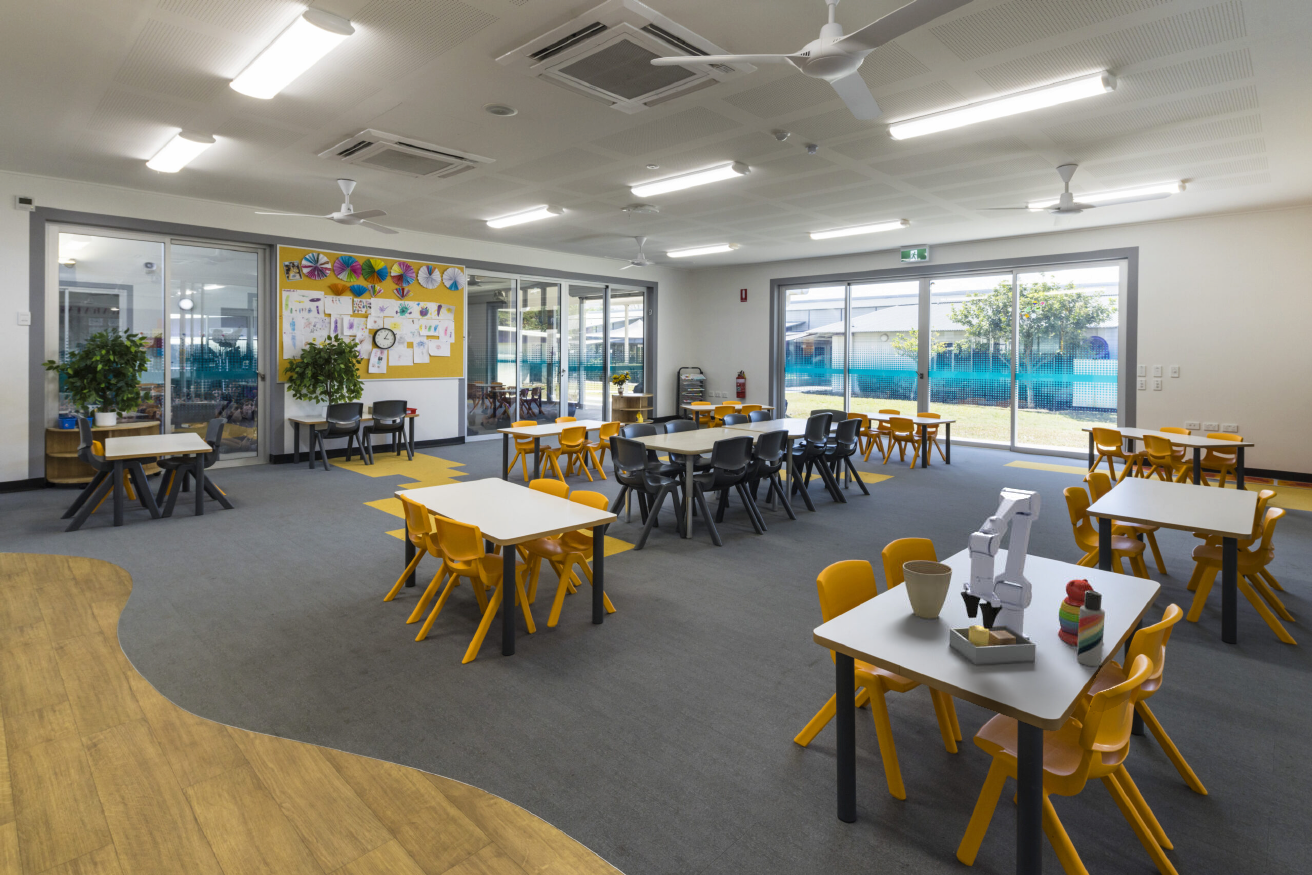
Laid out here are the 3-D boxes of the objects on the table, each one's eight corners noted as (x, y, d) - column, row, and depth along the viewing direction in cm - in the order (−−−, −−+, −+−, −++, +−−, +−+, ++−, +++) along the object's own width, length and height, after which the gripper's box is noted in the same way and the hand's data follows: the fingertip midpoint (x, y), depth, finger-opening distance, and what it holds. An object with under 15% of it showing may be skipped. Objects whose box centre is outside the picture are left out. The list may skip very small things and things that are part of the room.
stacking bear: (1073, 646, 192) (1077, 587, 190) (1047, 632, 202) (1051, 575, 200) (1106, 643, 194) (1110, 584, 192) (1079, 630, 204) (1083, 573, 202)
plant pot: (920, 602, 227) (922, 557, 226) (960, 617, 215) (962, 569, 213) (891, 611, 220) (892, 565, 218) (930, 627, 207) (932, 577, 205)
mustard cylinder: (980, 648, 190) (981, 624, 190) (991, 655, 186) (992, 631, 185) (964, 649, 190) (965, 626, 189) (975, 657, 185) (976, 633, 184)
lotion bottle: (1073, 656, 186) (1078, 587, 183) (1097, 658, 184) (1102, 589, 182) (1080, 665, 180) (1084, 594, 178) (1104, 668, 179) (1109, 596, 176)
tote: (975, 665, 181) (975, 647, 181) (949, 644, 194) (950, 628, 194) (1034, 661, 183) (1035, 644, 182) (1005, 641, 196) (1006, 625, 195)
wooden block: (1004, 647, 191) (1004, 630, 190) (1015, 654, 186) (1015, 637, 185) (987, 647, 191) (988, 631, 190) (998, 655, 186) (998, 638, 185)
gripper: (954, 568, 192) (952, 613, 193) (983, 585, 177) (981, 633, 179) (977, 567, 192) (975, 612, 194) (1008, 583, 178) (1006, 632, 180)
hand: (979, 622), depth 187 cm, fingers open, 7 cm apart
